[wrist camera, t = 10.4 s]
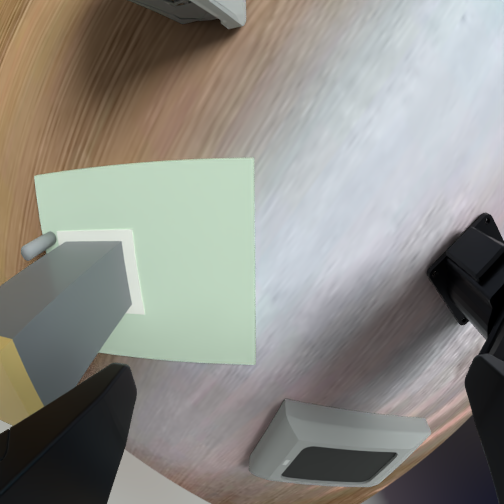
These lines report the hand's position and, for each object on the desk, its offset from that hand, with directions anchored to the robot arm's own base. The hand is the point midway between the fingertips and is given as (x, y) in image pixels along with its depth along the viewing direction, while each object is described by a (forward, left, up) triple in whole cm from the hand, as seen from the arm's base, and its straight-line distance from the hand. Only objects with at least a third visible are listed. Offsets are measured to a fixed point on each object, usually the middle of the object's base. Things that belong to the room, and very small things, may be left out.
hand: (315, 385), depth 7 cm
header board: (+5, +9, -13) cm, 16 cm away
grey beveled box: (-19, +10, -14) cm, 26 cm away
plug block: (+7, +11, -12) cm, 18 cm away
